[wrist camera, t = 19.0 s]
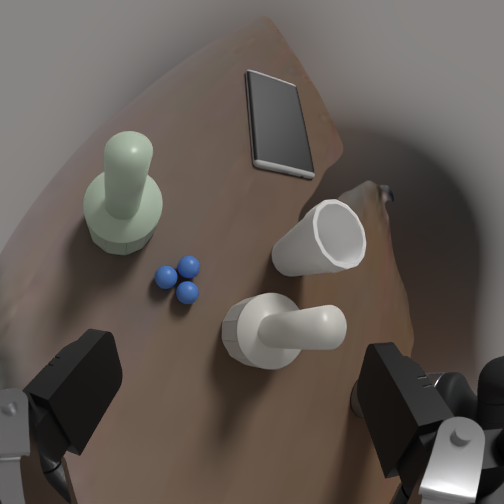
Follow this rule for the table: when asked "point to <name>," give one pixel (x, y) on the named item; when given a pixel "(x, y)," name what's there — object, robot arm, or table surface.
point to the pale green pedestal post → (123, 196)
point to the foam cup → (321, 242)
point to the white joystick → (279, 330)
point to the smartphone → (277, 126)
